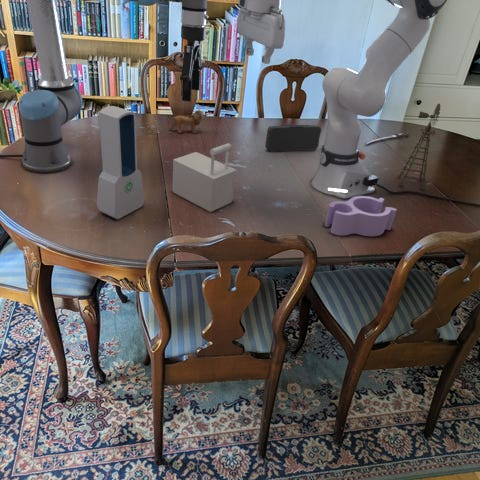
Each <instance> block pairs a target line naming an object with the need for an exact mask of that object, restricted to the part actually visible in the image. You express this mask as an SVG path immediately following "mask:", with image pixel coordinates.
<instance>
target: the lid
mask: <svg viewBox="0 0 480 480" xmlns="http://www.w3.org/2000/svg"><path fill="white" fill-rule="evenodd" d="M230 150H232V144H231V143H229V142H228V143H225V144H222V145H218V146H216V147H213V148H210V150H209V154H210V156H211V157H209V156H207V155H204V154H202V153H200V152H197V151H195V152H191V153H188V154H185V155H182V156H179V157H176V158H173V159H172V164H173V163H174V164H176V165H178V166H180V167H182V168H184V169H186V170H188V171H190V172H192V173H194V174H197V175H199V176H201V177H203V178H205V179H207V180H209V181H211V182H213V183H214V182H217V181H219V180H222V179H224V178H227V177H229V176H232V175H234V174H235V175H236V174H237V169H236V168H233V167H231V166H229V161H230V160H229V159H230ZM224 152H225V162H224V163H223V162H220V161H217V160H216V159H215V157H216V155H219V154H222V153H224Z"/></svg>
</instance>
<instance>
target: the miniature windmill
mask: <svg viewBox="0 0 480 480" xmlns="http://www.w3.org/2000/svg"><path fill="white" fill-rule="evenodd" d="M440 111H441V103H440V102H438V103H437V104H436V106H435V108H434V110H433V113H432V114H429V113H427V112H424V111H419V115H418V119H428V118H430V121H429V122H428V123H427V125H426V127H425V128H420V131H421V135H420V138H419V140H418V141H417V143H416V145H415V146H414V147H413V150H412V152H411V153H410V156H409V157H408V158H407V161H406V162H405V165H404V167H403V168H401V172H400V173H399V175H398V178H399V179H400V178H401V177H402V175H403V179H402V180H401V183H400V185H399V186H400V187H403V185H404V183H405V181H406V179H412V180H418V181H419V182H421V181H422V183H421V191H422V190H423V191H424V188H425V182H426V180H427V179H426V171H427V167H428V157H429V147H430V142H431V140H430V139H431V135H432V136H434V135H437V132H436V130H434V129H435V127H434V125H435V124H437V123H438V119H439V118H440V116H439V115H440V114H441V112H440ZM423 142H426V143H425V147H422V144H423ZM420 149H421V150H420ZM422 150H424V151H422ZM418 153H421V154H423V158H420V157H417V155H418ZM415 160H420V161H422V162H421V163H416V162H415ZM408 164H409V166H408ZM412 165H416V166H421V168H420V170H415V169H411V168H412ZM405 171H406V172H405ZM409 172H415V173H420V174H419V178H418V177H412V176H408V175H409Z"/></svg>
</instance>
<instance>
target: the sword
mask: <svg viewBox="0 0 480 480" xmlns="http://www.w3.org/2000/svg"><path fill="white" fill-rule="evenodd" d="M402 134H403V133H398V134H397V133H394V134H392V135H389V136H383V137H379V138H376V139H372V140H369V141H367V142H366V146H368V145H371V144H373V143H377V142H381V141H384V140H389V139H393V138H400V137H402V136H404V135H402ZM408 135H409V136H410V133H409V134H406V135H405V136H408Z"/></svg>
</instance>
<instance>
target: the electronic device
mask: <svg viewBox="0 0 480 480" xmlns="http://www.w3.org/2000/svg"><path fill="white" fill-rule="evenodd" d="M136 114H137V113H136V112H134V111H131V110H127V109H125V108H121V107H118V106H115V105H109V106H105V107H104V108H102V109H101V110H99V111H98V123H99V136H100V137H99V138H100V147H101V149H100V151H101V164H102V171H101V173H100V174H99V176H98V182H97V194H96V206H97V209H98V211H99V212H101V213H102V214H104V215H107V216H108V217H111V218H113V219H115V220H120V219H121V218H123V217H124V216H125V217H126V216H127V215H128V214H130V213H132V212H135V211H136V210H138V209H140V208H142V207H143V206H144V203H145V196H144V195H145V193H144V186H143V177H142V171H141V170H140V169H139V168H138V149H137V148H138V147H137V144H138V143H137V115H136Z"/></svg>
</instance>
